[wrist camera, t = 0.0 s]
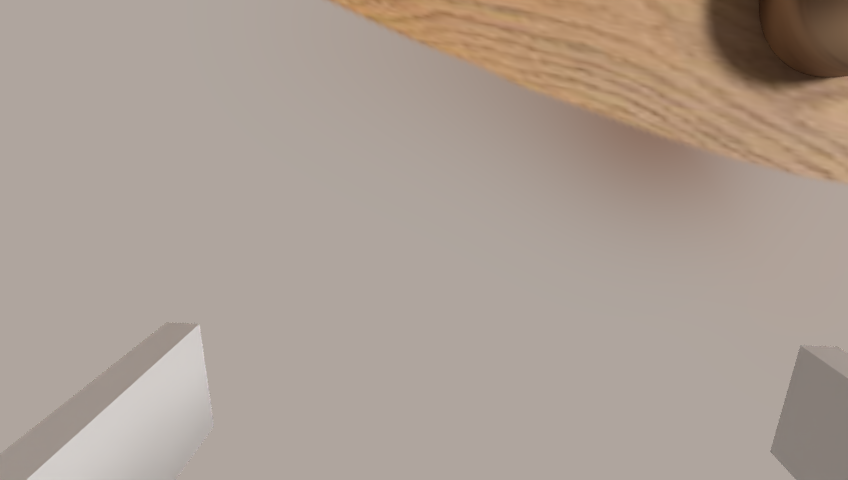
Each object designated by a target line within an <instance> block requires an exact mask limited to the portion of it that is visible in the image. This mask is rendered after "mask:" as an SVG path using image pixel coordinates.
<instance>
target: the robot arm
mask: <svg viewBox="0 0 848 480" xmlns="http://www.w3.org/2000/svg"><path fill="white" fill-rule="evenodd" d="M213 427H214V424H213V416H212V410H211V402H210V396H209V388H208V381H207V374H206V367H205V360H204V353H203V346H202V339H201V332H200V325H199V324H189V323H165V324H164V325H163V326H162V327H160V328H159V329H158V330H156V331H155V332H154V333H153V334H151V335H150V336H149V337H148V338H146V339H145V340H144V341H143V342H141V343H140V344H139V345H137V346H136V347H135V348H134V349H132V350H131V351H130V352H129V353H127V354H126V355H125V356H124V357H122V358H121V359H120V360H119V361H117V362H116V363H115V364H113V365H112V366H111V367H110V368H108V369H107V370H106V371H105V372H103V373H102V374H101V375H99V376H98V377H97V378H96V379H94V380H93V381H92V382H91V383H89V384H88V385H87V386H86V387H84V388H83V389H82V390H80V391H79V392H78V393H77V394H75V395H74V396H73V397H72V398H70V399H69V400H68V401H67V402H66V403H64V404H63V405H61V406H60V407H59V408H58V409H56V410H55V411H54V412H53V413H51V414H50V415H49V416H48V417H46V418H45V419H44V420H43V421H41V422H40V423H39V424H37V425H36V426H35V427H34V428H32V429H31V430H30V431H29V432H28V433H26V434H25V435H24V436H23V437H21V438H20V439H18V440H17V441H16V442H15V443H13V444H12V445H11V446H10V447H8V448H7V449H6V450H5V451H3V452H2V453H1V454H0V480H176V478H177V477H178V476H179V474H180V473H181V472H182V470H183V469H184V467H185V466H186V465H187V463H188V462H189V461H190V459H191V458H192V456H193V455H194V453H195V452H196V450H197V449H198V448H199V446H200V445H201V444H202V442H203V441H204V440H205V438H206V437H207V435H208V434H209V432H210V431H211V430H212V428H213ZM771 453H772V454H773V455H774V456H775V457H776V458H777V459H778V461H779V462H780V463H781V464H782V465H783V466H784V467H785V468H786V469H787V470H788V471H789V472H790V474H791V475H792V476H793V477H794V478H795V479H796V480H848V353H847V352H845V351H843V350H842V349H840V348H839V347H827V346H802V345H801V346H800V349H799V352H798V356H797V359H796V363H795V366H794V370H793V373H792V377H791V380H790V384H789V388H788V391H787V395H786V398H785V402H784V405H783V409H782V412H781V416H780V419H779V423H778V426H777V430H776V434H775V437H774V440H773V444H772V447H771Z"/></svg>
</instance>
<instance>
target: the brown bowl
mask: <svg viewBox="0 0 848 480" xmlns="http://www.w3.org/2000/svg"><path fill="white" fill-rule="evenodd" d="M759 13H760V22H761V26H762V30H763V33H764V35H765V38H766V40H767V42H768V44H769V46H770V47H771V49H772V50H773V52H774V53H775V54H776V55H777V56H778V57H779V59H781V60H782V61H783V62H784V63H785V64H787V65H788V66H790V67H791V68H793V69H795V70H797V71H799V72H802V73H804V74H808V75H812V76H817V77H840V76H848V0H759Z"/></svg>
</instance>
